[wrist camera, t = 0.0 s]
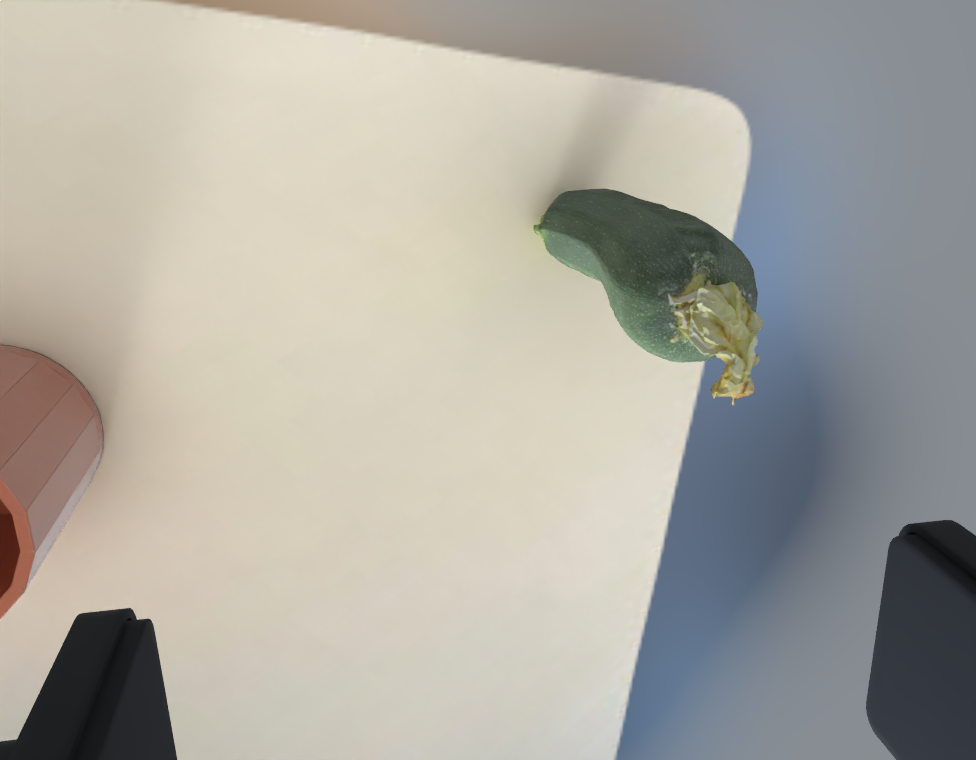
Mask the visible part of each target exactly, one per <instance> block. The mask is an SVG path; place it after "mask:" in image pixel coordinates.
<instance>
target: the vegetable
mask: <svg viewBox="0 0 976 760" xmlns="http://www.w3.org/2000/svg"><path fill="white" fill-rule="evenodd" d="M540 222H541V224H539V225H534V231H535V233H536V234H538V235H539V236H541V237H542V238H543V239H544V242H545V246H546V249H547V250H548V252H549V253H550V254H551V255H552V256H554V257H555V258H556V259H557V260H559V261H560V262H561V263H563V264H565V265H566V266H568V267H569V268H572V269H575V270H578V271H580V272H581V273H583V274H585V275H587V276H589V277H591V278H594V279H596V280H598V281H601V282H602V284H603V286H604V288H605V290H606V292H607V295H608V298H609V302H610V306H611V308H612V309H613V311H614V314H615V316H616V318H617V320H618V322H619V323H620V325H621V327H622V328H623V330H624V331H625V332H626V333H627V335H628V336H629V337H630V338H631V339H632V340H633V341H634V342H635V343H637V344H638V345H639V346H641V347H642V348H643V349H645V350H646V351H647V352H649V353H651V354H654V355H656V356H658V357H661V358H663V359H666V360H669V361H674V362H696V361H706V360H711V359H713V358H715V357H719V358H721V359H722V360H723V361H725V362H726V367H725V369H724V372H723V374H722V376H721V378H720V379H719V381H716V383H715V384H714V385H713V386H712V387H711V391H712V394H713V398H715V397H716V396H731V398H732V404H733V405H734V403H735V400H736V399H737V398H740V397H744V396H748V395H750V394H751V393H753V392H754V390H755V387H754V385H753V382H752V379H751V377H750V376H749V375H750V373H751V371H752V367H753V366H754V365H757V364H758V361H759V359H760V358H758V355H757V354H756V353H755V352H754V349H755V346H756V345H757V344H758V343H757V337H756V336H755V334H756V333H757V332H759V331H761V330H762V329H760V327H761V325H762V324H763V321H762V319H761V317H760V316H759V314H758V313H756V304H757V288H756V284H755V278H754V272H753V268H752V266H751V264H750V262H749V261H748V259H747V258H746V257H745V255H744V254H743V253H742V251H741V250H740V249H739V248H738V247H737V246H736V245H735V244H734V243H733V242H732V241H730V240H729V239H728V238H727V237H726V236H724V235H723V234H722V233H720V232H719V231H718V230H716V229H715V228H713V227H712V226H710V225H709V224H707V223H705V222H704V221H702V220H700V219H698V218H697V217H695V216H692V215H690V214H687V213H683V212H680V211H677V210H672V209H669V208H667V207H666V206H664V205H660V204H656V203H652V202H649V201H644V200H641V199H638V198H635V197H633V196H630V195H628V194H625V193H622V192H619V191H615V190H609V189H590V190H578V191H568V192H565V193H562V194H560V195H559V196H558V197H557V198H556V199H555V201H554V202H553V203H552V205H551V206H550V207H549V208H548V210H547V211H546V213H545V214H544V215H543V216H542V218H541V221H540Z"/></svg>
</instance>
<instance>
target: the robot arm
mask: <svg viewBox="0 0 976 760" xmlns="http://www.w3.org/2000/svg"><path fill="white" fill-rule="evenodd" d="M866 710H867V716H868V720H869V722H870V725H871V727H872V729H873V731H874V732H875V734H876V735H877V737H878V738H879V739H880V740H881V742H882V743H883V744H884V745H885V746H886V748H887V749H888V750H889V751H890V752H891V754H892V755H893V756H894V757H895V759H896V760H976V536H975V535H974V534H972V533H971V532H970V531H968V530H967V529H965V528H964V527H963V526H961V525H960V524H958V523H956V522H954V521H952V520H942V521H933V522H924V523H914V524H908V525H906V526H904V527H903V529H902V530H901V531H900V533H899V536H897V537H895V538H893V539H892V541H891V542H890V545H889V549H888V556H887V564H886V571H885V577H884V584H883V591H882V598H881V605H880V612H879V618H878V626H877V632H876V639H875V646H874V653H873V660H872V667H871V674H870V680H869V688H868V694H867V701H866ZM0 760H177V756H176V750H175V744H174V739H173V733H172V727H171V722H170V716H169V710H168V705H167V699H166V693H165V688H164V682H163V676H162V671H161V665H160V659H159V654H158V648H157V642H156V636H155V631H154V627H153V623H152V621H151V620H150V619H142V620H137V619H136V616H135V614H134V611H133V610H132V609H131V608H126V609H117V610H108V611H99V612H89V613H81V614H79V615H78V616H77V617H76V619H75V620H74V622H73V624H72V626H71V628H70V631H69V633H68V635H67V637H66V639H65V641H64V643H63V645H62V647H61V649H60V651H59V653H58V655H57V658H56V660H55V662H54V664H53V666H52V668H51V670H50V672H49V674H48V676H47V678H46V680H45V683H44V685H43V687H42V689H41V691H40V693H39V695H38V697H37V699H36V701H35V703H34V705H33V708H32V710H31V712H30V714H29V716H28V718H27V720H26V722H25V724H24V726H23V728H22V730H21V732H20V735H19V737H18V739H17V740H10V741H2V742H0Z"/></svg>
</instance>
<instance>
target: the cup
mask: <svg viewBox="0 0 976 760" xmlns="http://www.w3.org/2000/svg"><path fill="white" fill-rule="evenodd" d="M102 449H103V429H102V423H101V419H100V416H99V413H98V410H97V408H96V405H95V403H94V402H93V400H92V398H91V396H90V395H89V393H88V392H87V390H86V389H85V388H84V387H83V385H82V384H81V383H80V382H79V381H78V380H77V379H76V378H75V377H74V376H73V375H72V374H71V373H70V372H68V371H67V370H66V369H65V368H63V367H62V366H61V365H59V364H57V363H56V362H54V361H52V360H51V359H49V358H47V357H45V356H42V355H40V354H38V353H35V352H32V351H29V350H26V349H22V348H18V347H13V346H5V345H0V619H1V618H2V617H3V616H4V614H5V613H6V612H7V611H8V610H9V609H10V608H11V607H12V605H13V604H14V603H15V602H16V601H17V600H18V599H19V598H20V596H21V595H22V594H23V593H24V592H25V590H26V589H27V587H28V585H29V584H30V582H31V580H32V579H33V577H34V575H35V574H36V572H37V570H38V569H39V567H40V565H41V564H42V562H43V560H44V559H45V557H46V555H47V554H48V552H49V551H50V549H51V547H52V546H53V544H54V542H55V541H56V539H57V537H58V536H59V534H60V532H61V531H62V529H63V527H64V526H65V524H66V522H67V521H68V519H69V517H70V516H71V514H72V512H73V511H74V509H75V507H76V506H77V504H78V502H79V501H80V499H81V498H82V496H83V494H84V493H85V491H86V489H87V488H88V486H89V484H90V483H91V481H92V479H93V475H94V472H95V471H96V469H97V467H98V464H99V461H100V458H101V454H102Z"/></svg>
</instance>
